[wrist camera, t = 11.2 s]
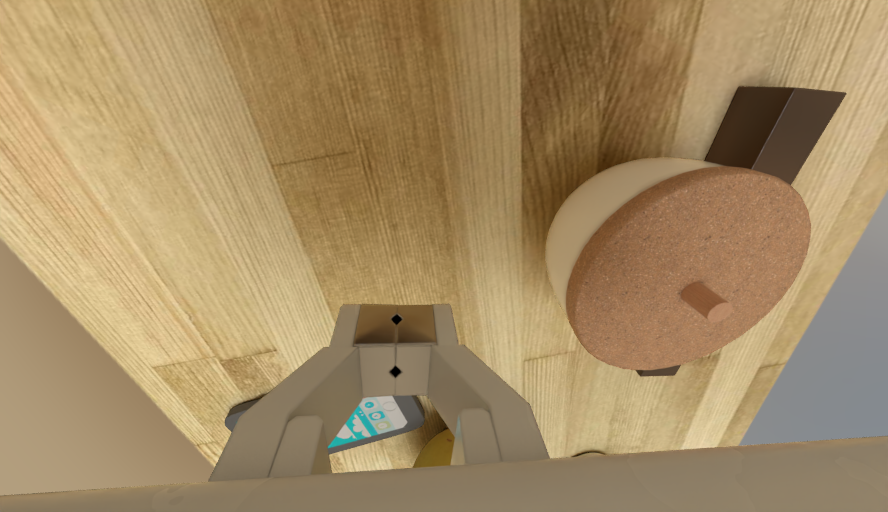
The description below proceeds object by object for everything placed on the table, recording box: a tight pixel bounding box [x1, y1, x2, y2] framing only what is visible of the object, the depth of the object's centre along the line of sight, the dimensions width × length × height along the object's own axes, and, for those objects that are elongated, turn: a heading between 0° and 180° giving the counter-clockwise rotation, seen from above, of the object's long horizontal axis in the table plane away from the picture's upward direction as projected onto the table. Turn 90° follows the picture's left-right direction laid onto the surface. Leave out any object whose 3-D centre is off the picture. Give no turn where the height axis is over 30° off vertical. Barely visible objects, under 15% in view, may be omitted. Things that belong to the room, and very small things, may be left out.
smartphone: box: [225, 394, 425, 454], centre depth 27 cm, size 9×1×15 cm
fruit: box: [413, 429, 455, 468], centre depth 27 cm, size 11×12×10 cm
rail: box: [636, 86, 846, 376], centre depth 21 cm, size 20×3×3 cm, turn 176°
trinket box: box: [545, 157, 811, 370], centre depth 17 cm, size 11×11×9 cm
